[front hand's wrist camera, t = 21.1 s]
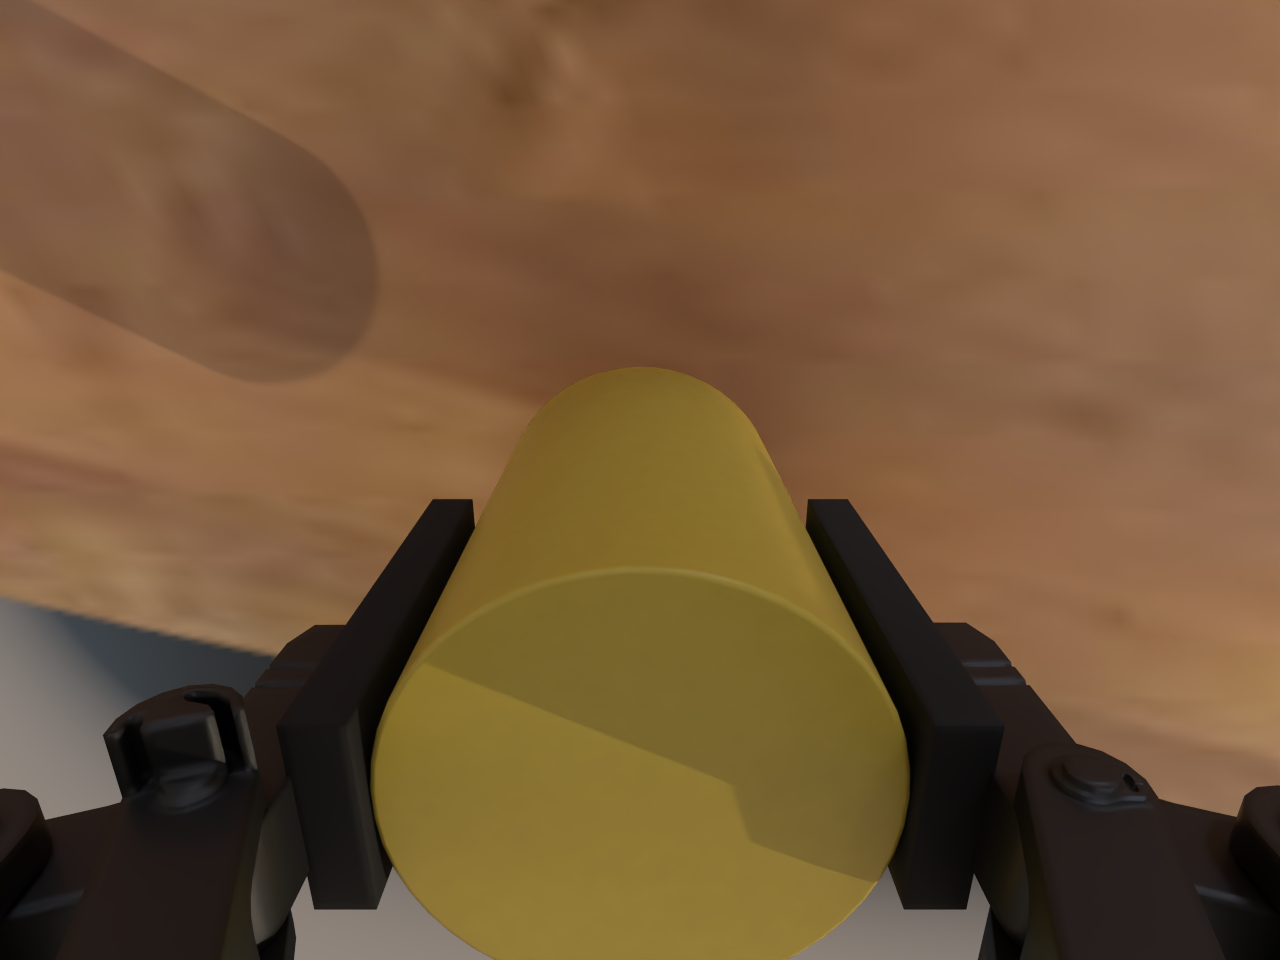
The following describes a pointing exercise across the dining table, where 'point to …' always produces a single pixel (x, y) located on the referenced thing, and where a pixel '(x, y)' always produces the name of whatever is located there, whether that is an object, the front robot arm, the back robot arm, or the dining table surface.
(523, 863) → the canister
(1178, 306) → the dining table surface
